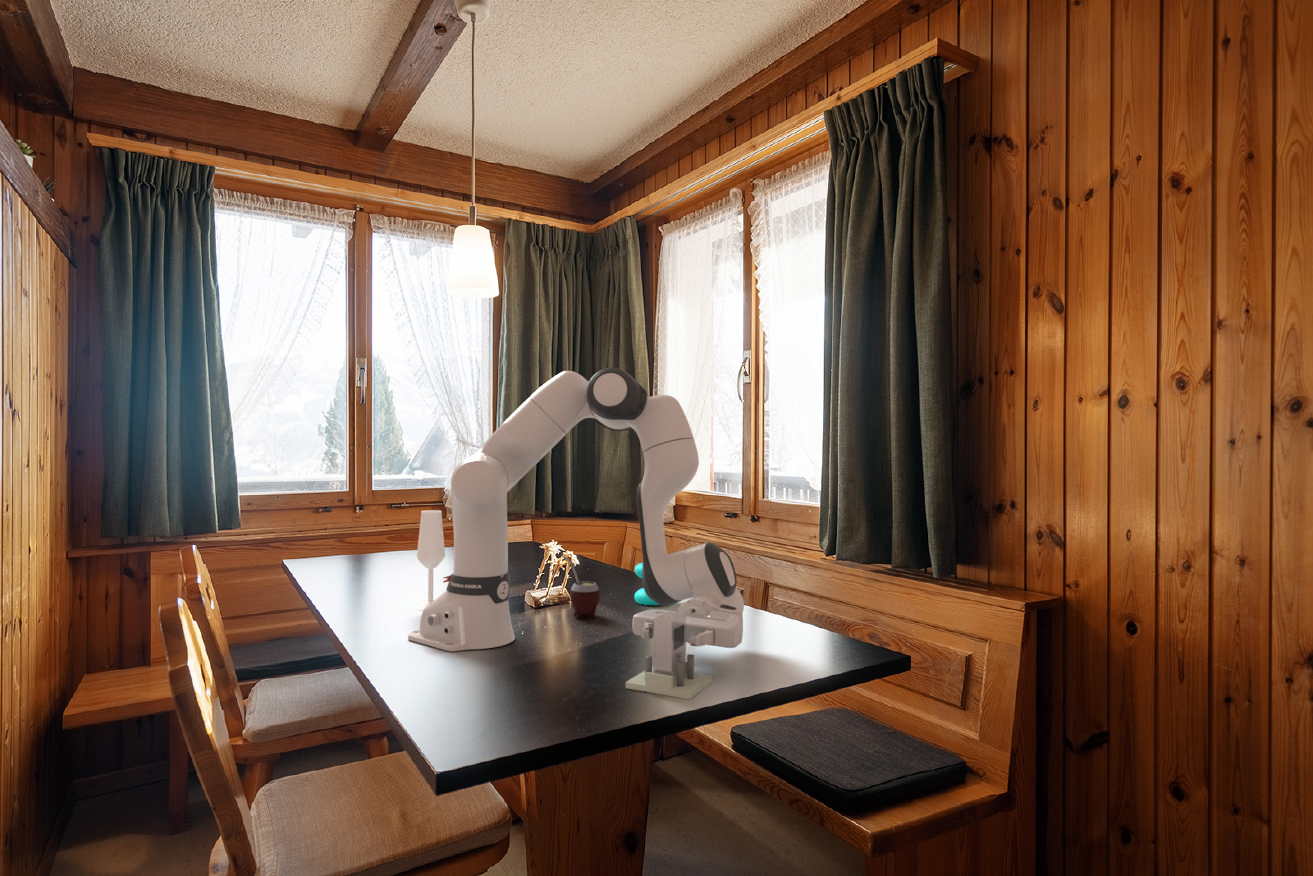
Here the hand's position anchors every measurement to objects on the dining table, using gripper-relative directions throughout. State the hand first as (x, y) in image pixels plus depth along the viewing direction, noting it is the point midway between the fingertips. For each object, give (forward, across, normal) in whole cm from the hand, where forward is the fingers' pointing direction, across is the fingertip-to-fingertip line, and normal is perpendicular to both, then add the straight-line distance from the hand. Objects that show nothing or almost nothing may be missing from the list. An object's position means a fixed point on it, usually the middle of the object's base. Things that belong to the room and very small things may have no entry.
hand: (669, 638), depth 131 cm
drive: (0, 0, +7) cm, 7 cm away
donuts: (-57, -31, +9) cm, 66 cm away
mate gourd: (-35, -39, +9) cm, 53 cm away
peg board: (0, 0, +8) cm, 8 cm away
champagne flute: (-25, -77, +9) cm, 82 cm away
